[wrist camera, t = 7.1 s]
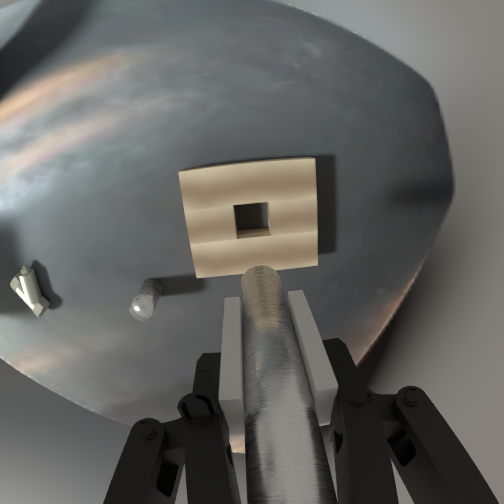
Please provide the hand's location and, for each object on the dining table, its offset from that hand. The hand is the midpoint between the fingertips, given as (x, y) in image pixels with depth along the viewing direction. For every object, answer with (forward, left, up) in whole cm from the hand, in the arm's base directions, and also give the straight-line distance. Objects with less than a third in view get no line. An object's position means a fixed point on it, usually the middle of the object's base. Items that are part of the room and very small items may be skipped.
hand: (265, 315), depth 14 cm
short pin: (+9, -15, -21) cm, 27 cm away
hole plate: (0, 0, -21) cm, 21 cm away
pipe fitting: (+5, -36, -19) cm, 41 cm away
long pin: (0, 0, -4) cm, 4 cm away
